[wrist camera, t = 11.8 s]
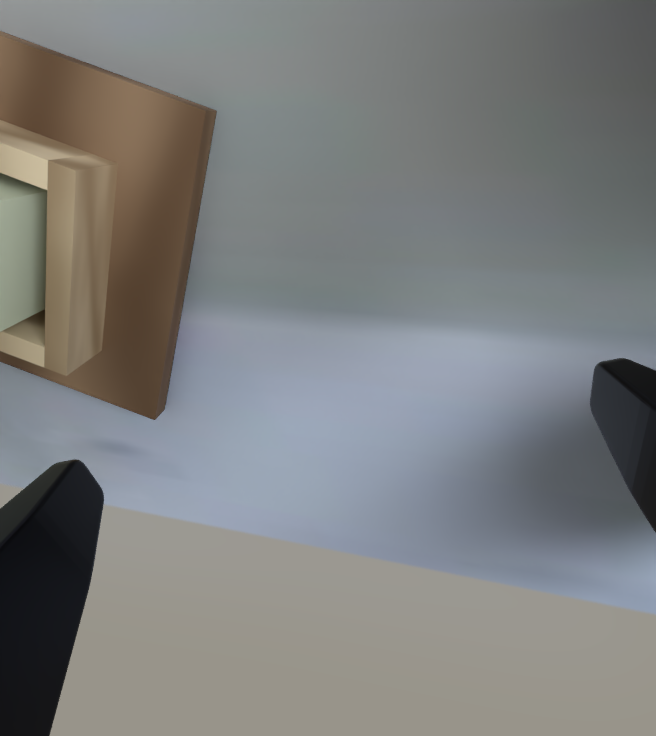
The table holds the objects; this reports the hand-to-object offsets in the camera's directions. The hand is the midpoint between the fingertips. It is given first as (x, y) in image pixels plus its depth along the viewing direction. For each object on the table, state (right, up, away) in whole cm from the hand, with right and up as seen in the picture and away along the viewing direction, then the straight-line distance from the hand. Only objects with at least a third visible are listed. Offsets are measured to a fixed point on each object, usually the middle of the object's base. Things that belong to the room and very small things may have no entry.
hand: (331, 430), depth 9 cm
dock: (-13, +7, +13) cm, 20 cm away
